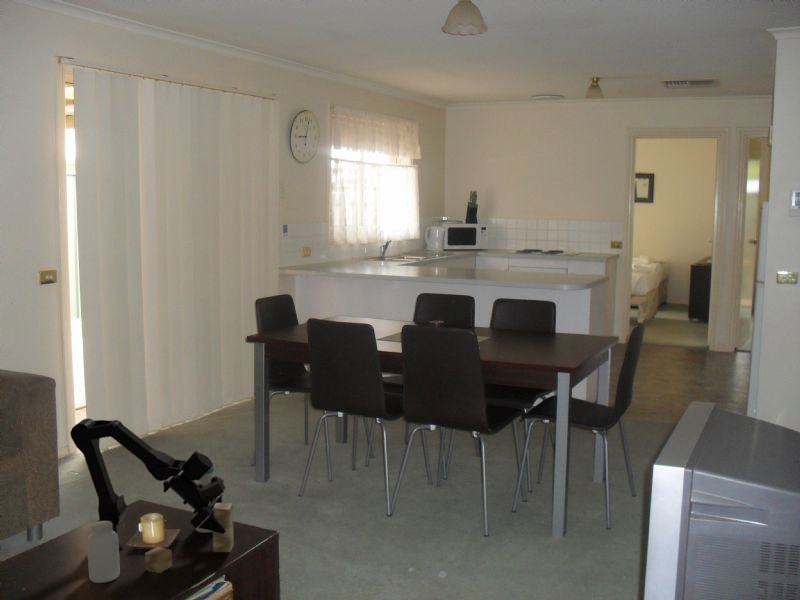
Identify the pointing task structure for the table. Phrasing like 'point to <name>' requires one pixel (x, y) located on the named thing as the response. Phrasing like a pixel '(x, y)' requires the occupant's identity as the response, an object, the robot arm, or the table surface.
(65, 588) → the table surface
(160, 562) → the oak cube
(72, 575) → the table surface
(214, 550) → the maple block
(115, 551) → the pill bottle
